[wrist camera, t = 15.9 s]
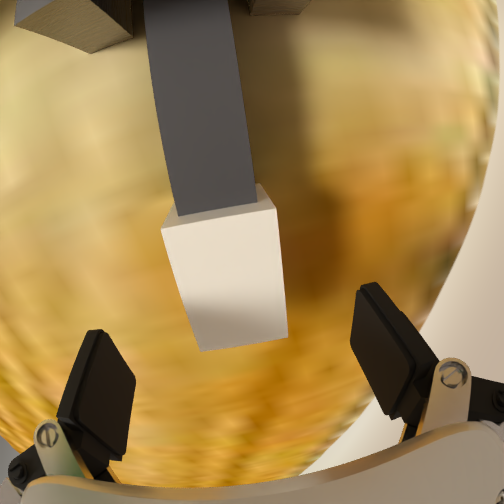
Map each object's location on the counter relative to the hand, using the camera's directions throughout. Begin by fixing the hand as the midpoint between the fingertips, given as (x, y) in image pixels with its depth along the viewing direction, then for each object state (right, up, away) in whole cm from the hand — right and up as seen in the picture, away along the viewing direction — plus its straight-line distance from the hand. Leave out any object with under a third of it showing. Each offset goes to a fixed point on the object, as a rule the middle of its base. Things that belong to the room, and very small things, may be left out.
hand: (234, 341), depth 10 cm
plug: (-2, +11, +1) cm, 11 cm away
